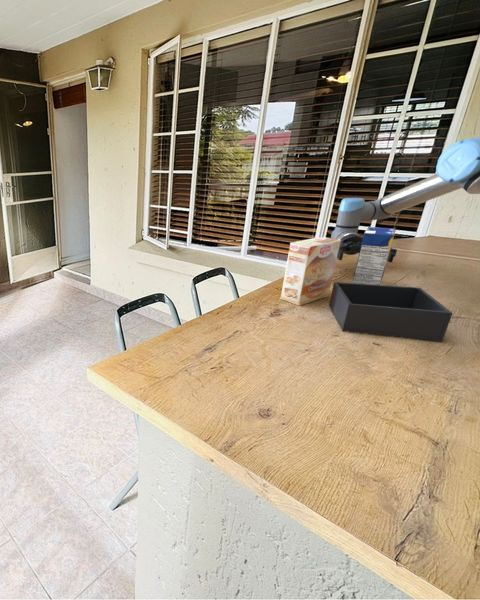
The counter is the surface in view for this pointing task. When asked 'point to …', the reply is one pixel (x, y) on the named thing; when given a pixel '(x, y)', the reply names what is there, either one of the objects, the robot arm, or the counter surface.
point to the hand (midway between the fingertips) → (365, 257)
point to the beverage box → (373, 255)
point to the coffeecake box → (309, 270)
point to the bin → (389, 311)
